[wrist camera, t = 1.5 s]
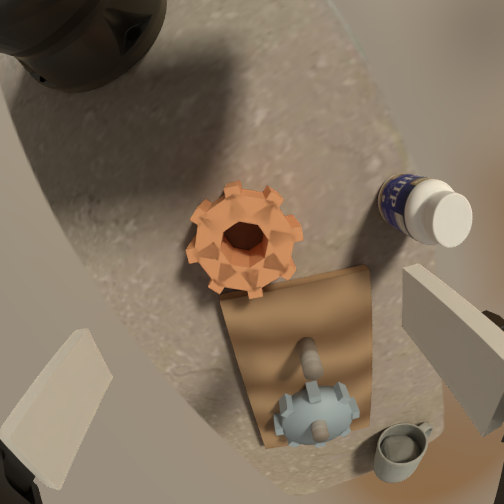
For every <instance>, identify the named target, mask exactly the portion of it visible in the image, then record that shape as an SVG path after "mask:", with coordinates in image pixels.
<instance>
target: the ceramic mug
mask: <svg viewBox="0 0 504 504" xmlns="http://www.w3.org/2000/svg"><path fill="white" fill-rule="evenodd" d="M432 429H433V426H432V425H430V424H429V423H427V422H424V423H423V424H421V425H420V426H417V425H414V424H411V423H399V424H395V425H393V426H390V427H389V428H387V429H386V430H385V431H384V432H382V434H381V435H380V437H379V439H378V442H377V448H376V453H375V458H374V463H373V466H374V472H375V474H376V476H377V477H378V478H379V479H380V480H382V481H385V482H387V483H396V482H400V481H403V480H405V479H406V478H408V477H409V476H410V475H411V474H412V473H413V472H414V471H415V469H416V467H417V466H418V464H419V462H420V460H421V459H422V457H423V455H424V454H425V452H426V449H427V445H428V437H429V436H430V434H431V432H432Z"/></svg>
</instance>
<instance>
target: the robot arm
mask: <svg viewBox="0 0 504 504" xmlns="http://www.w3.org/2000/svg"><path fill="white" fill-rule="evenodd" d="M166 6H167V0H0V53H4V54H8V55H11V56H14V57H15V58H16V59H17V60H18V61H19V62H20V63H21V64H22V66H23V67H24V68H25V69H26V70H27V71H28V72H30V74H31V75H32V76H33V77H34V78H35V79H36V80H37V81H38V82H39V83H41V84H43V85H44V86H46V87H49V88H52V89H56V90H60V91H64V92H84V91H88V90H92V89H95V88H98V87H100V86H103V85H105V84H107V83H109V82H111V81H112V80H114V79H116V78H117V77H119V76H120V75H122V74H123V73H124V72H126V71H127V70H128V69H130V68H131V67H132V66H133V65H134V64H135V63H136V62H137V61H138V60H139V59H140V58H141V57H142V56H143V55H144V54H145V53H146V51H147V50H148V49H149V47H150V46H151V45H152V43H153V42H154V40H155V39H156V37H157V35H158V33H159V31H160V29H161V27H162V24H163V21H164V18H165V14H166ZM402 272H403V308H402V327H403V328H404V330H405V331H406V332H407V333H408V335H409V336H410V337H411V339H412V340H413V341H414V342H415V344H416V345H417V346H418V348H419V349H420V350H421V351H422V353H423V354H424V355H425V357H426V358H427V359H428V361H429V362H430V363H431V365H432V366H433V367H434V369H435V370H436V371H437V373H438V374H439V375H440V377H441V378H442V379H443V381H444V382H445V384H446V385H447V386H448V388H449V389H450V390H451V392H452V393H453V395H454V396H455V398H456V399H457V400H458V402H459V403H460V405H461V406H462V407H463V409H464V410H465V412H466V413H467V415H468V416H469V418H470V419H471V420H472V422H473V424H474V425H475V427H476V428H477V429H478V431H479V433H480V434H481V436H482V437H484V436H485V435H487V434H489V433H491V432H492V431H494V430H495V429H497V428H499V427H500V426H501V425H502V423H503V421H504V319H503V318H501V317H500V316H499V315H496V314H494V313H492V312H489V311H487V310H486V311H483V312H480V311H479V310H478V309H476V308H475V307H474V306H473V305H472V304H470V303H469V302H468V301H467V300H465V299H464V298H463V297H462V296H460V295H459V294H458V293H457V292H455V291H454V290H453V289H452V288H450V287H449V286H448V285H446V284H445V283H444V282H443V281H441V280H440V279H439V278H437V277H436V276H435V275H433V274H432V273H431V272H429V271H428V270H427V269H425V268H424V267H423V266H421V265H420V264H415V265H411V266H407V267H403V268H402ZM112 379H113V376H112V375H111V373H110V371H109V369H108V367H107V366H106V363H105V361H104V360H103V358H102V356H101V354H100V352H99V350H98V348H97V346H96V344H95V342H94V340H93V338H92V336H91V334H90V331H89V329H88V328H87V329H79V330H75V331H74V332H73V333H72V334H71V336H70V337H69V338H68V339H67V340H66V342H65V343H64V344H63V345H62V346H61V348H60V349H59V350H58V352H57V353H56V354H55V355H54V356H53V358H52V359H51V360H50V361H49V363H48V364H47V365H46V367H45V368H44V370H42V372H41V373H40V375H39V376H38V377H37V378H36V380H35V381H34V382H33V384H32V385H31V386H30V388H29V389H28V390H27V392H26V393H25V395H24V396H23V397H22V398H21V400H20V401H19V403H18V404H17V406H16V407H15V408H14V410H13V411H12V413H11V414H10V415H9V417H8V418H7V420H6V421H5V422H4V424H3V425H2V427H1V428H0V504H42V500H41V496H40V492H39V489H38V487H37V485H36V484H35V483H34V482H33V480H34V478H35V477H36V478H38V479H39V480H40V481H41V482H42V483H43V484H44V485H45V486H48V487H51V488H54V489H58V490H61V487H62V485H63V482H64V480H65V478H66V475H67V473H68V471H69V468H70V466H71V464H72V461H73V459H74V457H75V455H76V453H77V450H78V448H79V446H80V444H81V442H82V440H83V438H84V436H85V433H86V431H87V429H88V427H89V425H90V423H91V421H92V419H93V417H94V415H95V413H96V411H97V408H98V407H99V404H100V402H101V400H102V398H103V396H104V395H105V393H106V391H107V389H108V387H109V385H110V383H111V381H112ZM501 442H504V436H503V438H502V441H501ZM494 504H504V464H503V469H502V473H501V478H500V482H499V486H498V490H497V494H496V498H495V501H494Z"/></svg>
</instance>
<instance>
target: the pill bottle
mask: <svg viewBox="0 0 504 504" xmlns="http://www.w3.org/2000/svg"><path fill="white" fill-rule="evenodd" d="M378 207H379V211H380V214H381V216H382V217H383V219H384V220H385V221H386V222H387V223H388V224H389V225H391V226H392V227H394V228H396V229H397V230H399V231H401V232H403V233H404V234H406V235H408V236H409V237H411V238H413V239H415V240H416V241H418V242H420V243H422V244H426V245H435V244H440V245H442V246H444V247H449V248H451V247H455V246H457V245H459V244H461V243H462V242H463V241H464V240H465V238H466V237H467V235H468V234H469V231H470V229H471V225H472V210H471V207H470V204H469V202H468V201H467V199H466V198H465V197H464V196H462V195H460V194H458V193H454V191H453V190H452V189H451V187H450V186H449V185H448V184H446V183H445V182H443V181H440V180H437V179H432V178H427V177H422V176H417V175H412V174H406V173H399V174H395V175H393V176H391V177H390V178H388V179H387V180H386V181H385V182H384V184H383V185H382V187H381V189H380V192H379V196H378Z"/></svg>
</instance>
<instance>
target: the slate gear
mask: <svg viewBox="0 0 504 504" xmlns="http://www.w3.org/2000/svg"><path fill="white" fill-rule="evenodd" d="M279 406H280V413H278V414H274V424H275V431H276V435H277V436H278V435H285V436H286V438H287V441H288V445H289V446H292V447H297V446H298V445H300V444H304V445H313V444H315V446H316V448H317V447H322V446H326V445H325V442H327V441H330V440H332V439H334V438H336V437H338V436H339V435H340V436H343V437H345V436H346V435H347V434H348V433H350V432H351V429H350V424H351V422H352V419H355V418H359V414H360V411H359V408H358V406H357V403H356V401H355V398H354V397H351V398H350V395H349V393H348V390H347V388H346V385H344V384H342V383H340V382H337V383H336V384H335V385H334V386H333V387H332V386H322V385H321V386H318V384H317V381H312V382H307V383H306V388H305V389H303V390H300V391H298V392H296V393H295V394H293V395H292V396H291V395H288V394H286V393H285V394H284V395H283V396H282V397H281V398H280V399H279ZM316 420H325V421H326V424H327V428H328V432H329V435H330V436H329V438H328V439H327V440H326V441H323V442H315V441H314V440H313V436H312V432H311V427H310V425H311V423H312V422H314V421H316Z"/></svg>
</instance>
